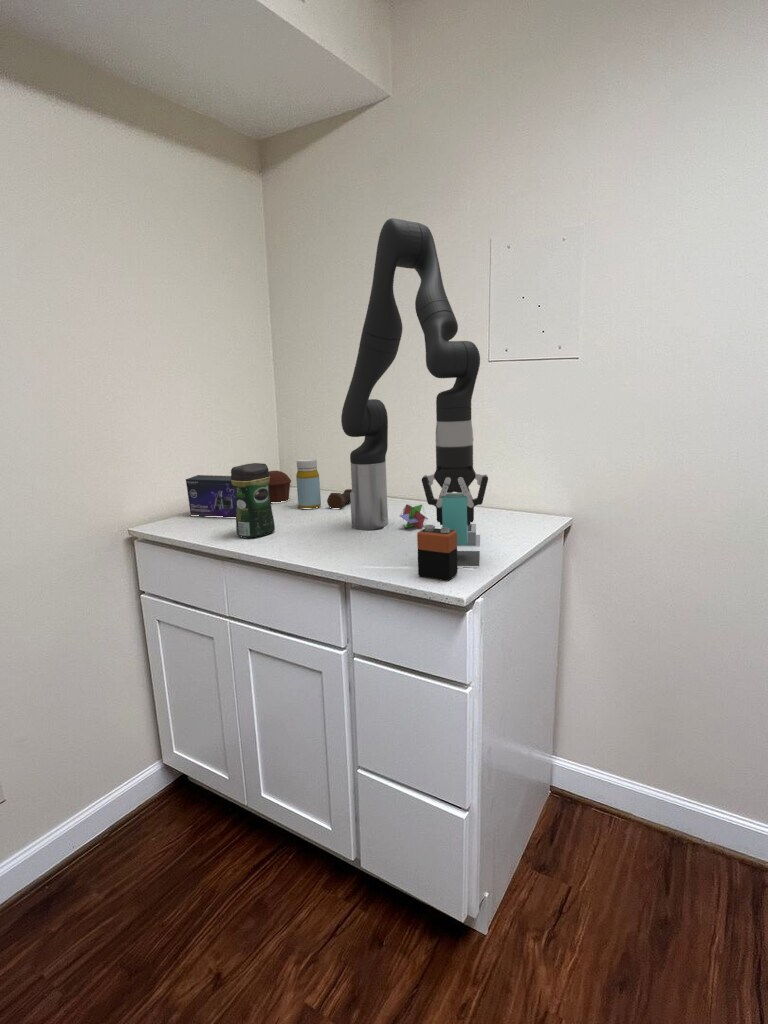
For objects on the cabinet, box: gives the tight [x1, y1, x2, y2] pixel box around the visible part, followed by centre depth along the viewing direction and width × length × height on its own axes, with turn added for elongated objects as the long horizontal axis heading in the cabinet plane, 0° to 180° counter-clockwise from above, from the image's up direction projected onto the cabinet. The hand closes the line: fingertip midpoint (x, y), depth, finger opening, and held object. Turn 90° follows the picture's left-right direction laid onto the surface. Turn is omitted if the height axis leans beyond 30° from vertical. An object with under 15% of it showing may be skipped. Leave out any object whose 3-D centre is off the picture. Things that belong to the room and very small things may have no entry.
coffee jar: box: [230, 462, 276, 538], centre depth 149 cm, size 10×8×19 cm
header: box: [440, 523, 481, 548], centre depth 136 cm, size 10×10×4 cm
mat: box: [457, 550, 481, 569], centre depth 123 cm, size 10×10×1 cm
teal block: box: [442, 492, 468, 545], centre depth 121 cm, size 5×5×10 cm
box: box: [185, 474, 236, 517], centre depth 174 cm, size 17×7×12 cm, turn 72°
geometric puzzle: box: [399, 503, 429, 530], centre depth 149 cm, size 7×7×8 cm
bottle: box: [295, 458, 322, 509], centre depth 180 cm, size 7×7×15 cm
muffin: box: [268, 470, 292, 502], centre depth 192 cm, size 12×11×10 cm
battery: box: [416, 524, 458, 581], centre depth 113 cm, size 4×7×10 cm, turn 59°
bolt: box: [326, 488, 352, 509], centre depth 184 cm, size 6×5×15 cm
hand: (455, 523), depth 121 cm, fingers closed on teal block, 5 cm apart
